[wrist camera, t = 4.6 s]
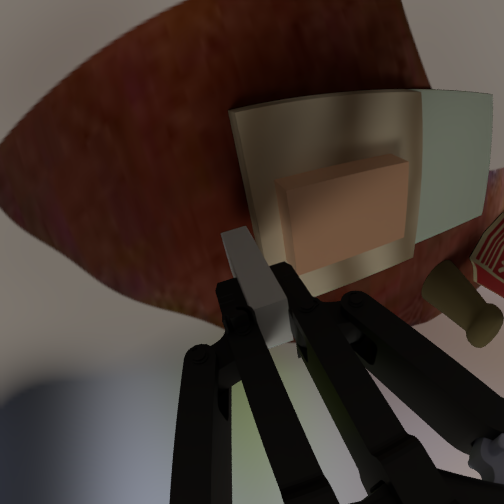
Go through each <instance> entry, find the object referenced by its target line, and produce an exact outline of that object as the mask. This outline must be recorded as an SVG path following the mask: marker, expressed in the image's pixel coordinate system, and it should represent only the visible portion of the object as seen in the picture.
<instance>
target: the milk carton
mask: <svg viewBox="0 0 504 504" xmlns="http://www.w3.org/2000/svg"><path fill="white" fill-rule="evenodd" d="M469 259H470V260H471V262H472V264H473V272H474V281H475V282H476V283H478V284H480V285H482V286H484V287H485V288H487V289H489V290H491V291H492V292H494V293H496V294H498V295H499V296H501V297H503V298H504V213H502V214H501V215H500V216H499V217H498V218H497V219H496V221H495V222H494V223H493V224H492V225H491V226H490V227H489V228H488V229H487V230H486V231H485V232H484V233H483V235H482V237H481V239H480V241H479V243H478V244H477V246H476V248H475V250H474V251H473V253H472V255H471V256H470V258H469Z"/></svg>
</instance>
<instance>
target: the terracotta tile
mask: <svg viewBox="0 0 504 504" xmlns="http://www.w3.org/2000/svg"><path fill="white" fill-rule="evenodd" d="M408 178H409V161H406V160H404V159H402V158H400V157H397V156H395V155H393V154H386V155H381V156H376V157H371V158H366V159H361V160H356V161H352V162H347V163H342V164H338V165H333V166H329V167H325V168H320V169H316V170H312V171H308V172H303V173H299V174H295V175H291V176H287V177H283V178H279V179H276V180H274V183H275V190H276V196H277V202H278V208H279V215H280V221H281V228H282V234H283V241H284V248H285V255H286V260H287V262H288V263H289V264H290V265H292V267H293V268H294V270H295V271H296V273H297V274H298V276H299V275H302V274H305V273H308V272H311V271H314V270H316V269H319V268H322V267H325V266H328V265H331V264H333V263H336V262H339V261H342V260H345V259H347V258H350V257H353V256H356V255H358V254H361V253H364V252H366V251H369V250H372V249H375V248H377V247H380V246H383V245H385V244H388V243H391V242H393V241H396V240H398V239H401V238H404V233H405V223H406V211H407V197H408Z"/></svg>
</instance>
